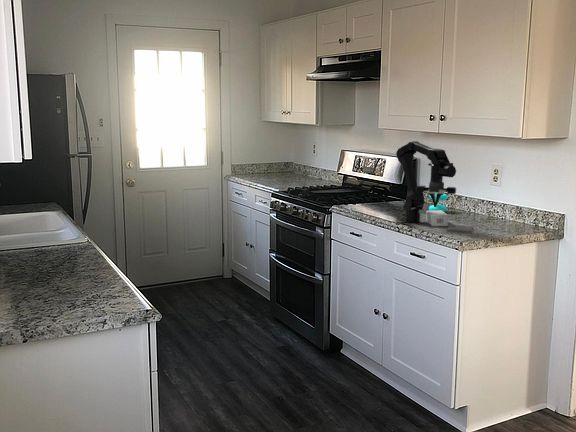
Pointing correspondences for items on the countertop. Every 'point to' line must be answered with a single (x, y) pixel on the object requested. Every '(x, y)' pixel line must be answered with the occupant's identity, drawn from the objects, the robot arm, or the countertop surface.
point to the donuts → (439, 207)
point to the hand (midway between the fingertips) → (435, 207)
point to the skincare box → (437, 218)
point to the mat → (460, 228)
